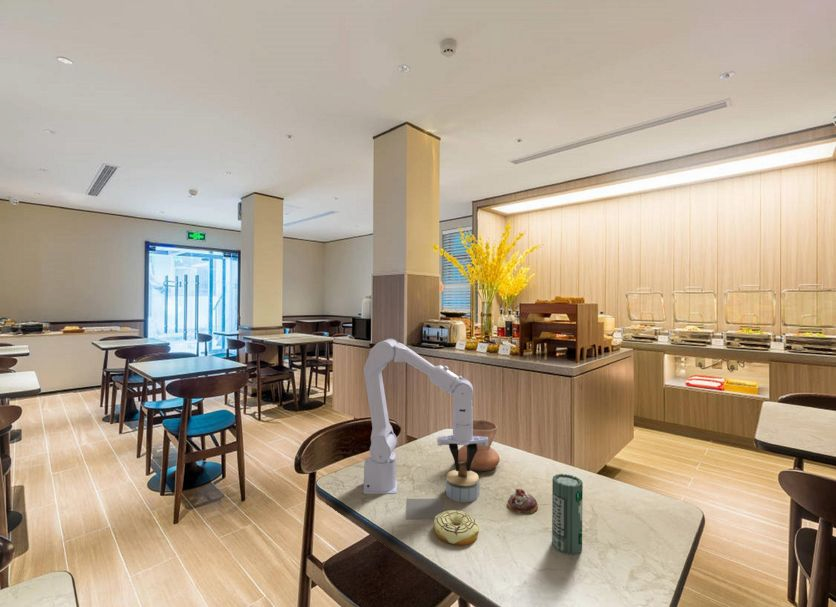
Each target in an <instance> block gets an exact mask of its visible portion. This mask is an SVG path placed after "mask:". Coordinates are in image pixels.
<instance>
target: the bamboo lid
mask: <svg viewBox="0 0 836 607" xmlns="http://www.w3.org/2000/svg"><path fill="white" fill-rule="evenodd" d="M458 466H459V471H456V469H453V470H450V471H448V472H447V473H446V478H447V480H448V482H450V483H451V484H454V485H458V486H471V485H475V484H476V483H478V481H479V478H480V477H479V475H478V473H477V472H476V471H474V470H470V471H467V463H466V462H458ZM479 482H480V481H479Z"/></svg>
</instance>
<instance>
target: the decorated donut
mask: <svg viewBox="0 0 836 607" xmlns="http://www.w3.org/2000/svg"><path fill="white" fill-rule="evenodd" d="M432 525H433V528H434V532H435V534H436V535H437V537H438V539H440V540H441V541H442V542H444V543H445V542H446V543H447V544H450V545H454V546H466V545H471V544H473V543H475V541H476V540H477V538H478V536H479V533H480V527H479V523H478V522H477V520H476V518H474V516H472V515H471V514H469V513H467V512H465V511H462V510H458V509H451V510H450V509H449V510H444V512H443V513H440V514H438V515H437V516H436V517H435V519H433V524H432Z"/></svg>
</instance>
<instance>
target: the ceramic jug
mask: <svg viewBox="0 0 836 607" xmlns="http://www.w3.org/2000/svg"><path fill="white" fill-rule="evenodd" d="M497 429H498V426H497V424H496V423H495V422H492V421H490V420H487V419H477V418H473V436H481V437H487V438H488V446H485V445H477V452H476V454H475V456H474V458H473V460H472V463H471V467H470V471H474V472H476V471H477V472H486V471H490V470H492V469H494V468H496V467H497V466H498V465H499V463H500V455H499V453H498V452H497V451H496V450H495V449H493V448H492V444H493V441H494V439H495V436H496V434H497ZM458 450H459V453H458V463H459V462H466V463H467V445H462V446H461V447H460V448H458Z"/></svg>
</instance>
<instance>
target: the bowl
mask: <svg viewBox="0 0 836 607" xmlns="http://www.w3.org/2000/svg"><path fill="white" fill-rule="evenodd" d="M445 494H446V497H447V498H448V499H450V500H452V501H455V502H459V503H471V502H474V501H476V500H478V498H479V497H480V481H478V483H476V484H475V485H471V486H458V485H454V484H451V483H450V482H448V480H447V477H446V478H445Z"/></svg>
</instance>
